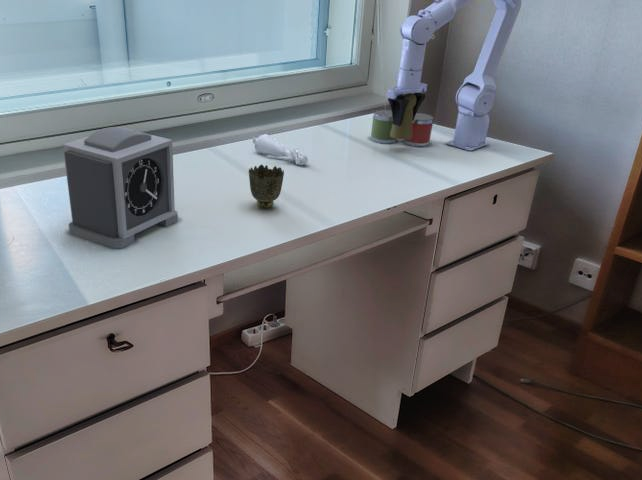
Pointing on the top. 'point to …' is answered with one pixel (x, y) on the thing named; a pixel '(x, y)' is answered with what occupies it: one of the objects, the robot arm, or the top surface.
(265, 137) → the woman figurine
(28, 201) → the top surface
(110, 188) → the alarm clock
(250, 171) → the cup
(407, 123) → the cork
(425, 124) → the red tin
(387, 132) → the green tin
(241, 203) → the top surface
